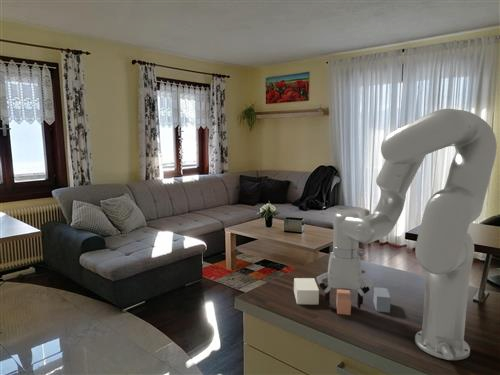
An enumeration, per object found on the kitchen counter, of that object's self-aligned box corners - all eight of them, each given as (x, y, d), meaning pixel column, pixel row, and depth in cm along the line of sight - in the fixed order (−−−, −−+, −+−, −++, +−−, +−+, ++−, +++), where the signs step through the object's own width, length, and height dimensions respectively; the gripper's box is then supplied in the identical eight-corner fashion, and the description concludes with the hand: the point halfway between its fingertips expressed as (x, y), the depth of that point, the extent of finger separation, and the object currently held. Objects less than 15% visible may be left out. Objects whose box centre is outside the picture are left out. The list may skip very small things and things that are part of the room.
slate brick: (389, 312, 112) (390, 297, 112) (376, 311, 113) (377, 296, 113) (386, 302, 119) (386, 288, 119) (373, 301, 120) (374, 287, 119)
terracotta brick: (350, 315, 111) (351, 299, 110) (337, 314, 112) (337, 298, 111) (349, 304, 118) (349, 290, 117) (336, 303, 119) (336, 289, 118)
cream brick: (318, 305, 118) (319, 290, 117) (296, 304, 118) (297, 290, 117) (313, 291, 128) (314, 278, 127) (293, 291, 128) (294, 278, 127)
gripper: (373, 249, 114) (370, 302, 116) (317, 246, 117) (315, 297, 120) (376, 257, 107) (373, 313, 109) (316, 253, 110) (315, 307, 113)
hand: (343, 304), depth 115 cm, fingers open, 9 cm apart
